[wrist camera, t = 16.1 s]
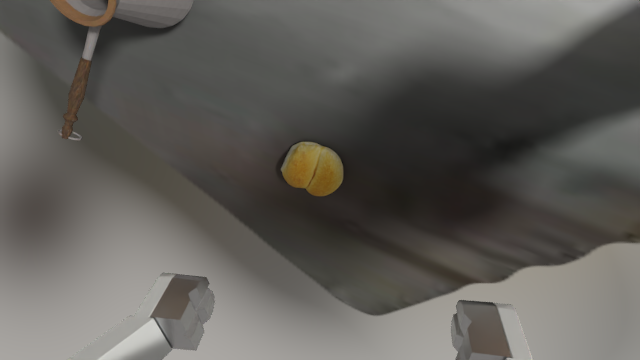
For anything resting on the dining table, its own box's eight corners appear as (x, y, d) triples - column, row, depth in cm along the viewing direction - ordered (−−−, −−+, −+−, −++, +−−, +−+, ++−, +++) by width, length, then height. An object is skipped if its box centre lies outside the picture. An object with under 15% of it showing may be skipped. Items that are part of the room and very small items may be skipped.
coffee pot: (106, -125, 34) (-40, -145, 22) (217, -66, 36) (136, -54, 24) (99, 67, 47) (5, 119, 35) (181, 104, 49) (117, 166, 37)
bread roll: (330, 195, 55) (327, 212, 52) (278, 171, 54) (271, 187, 51) (355, 157, 50) (353, 173, 47) (298, 130, 49) (292, 145, 46)
